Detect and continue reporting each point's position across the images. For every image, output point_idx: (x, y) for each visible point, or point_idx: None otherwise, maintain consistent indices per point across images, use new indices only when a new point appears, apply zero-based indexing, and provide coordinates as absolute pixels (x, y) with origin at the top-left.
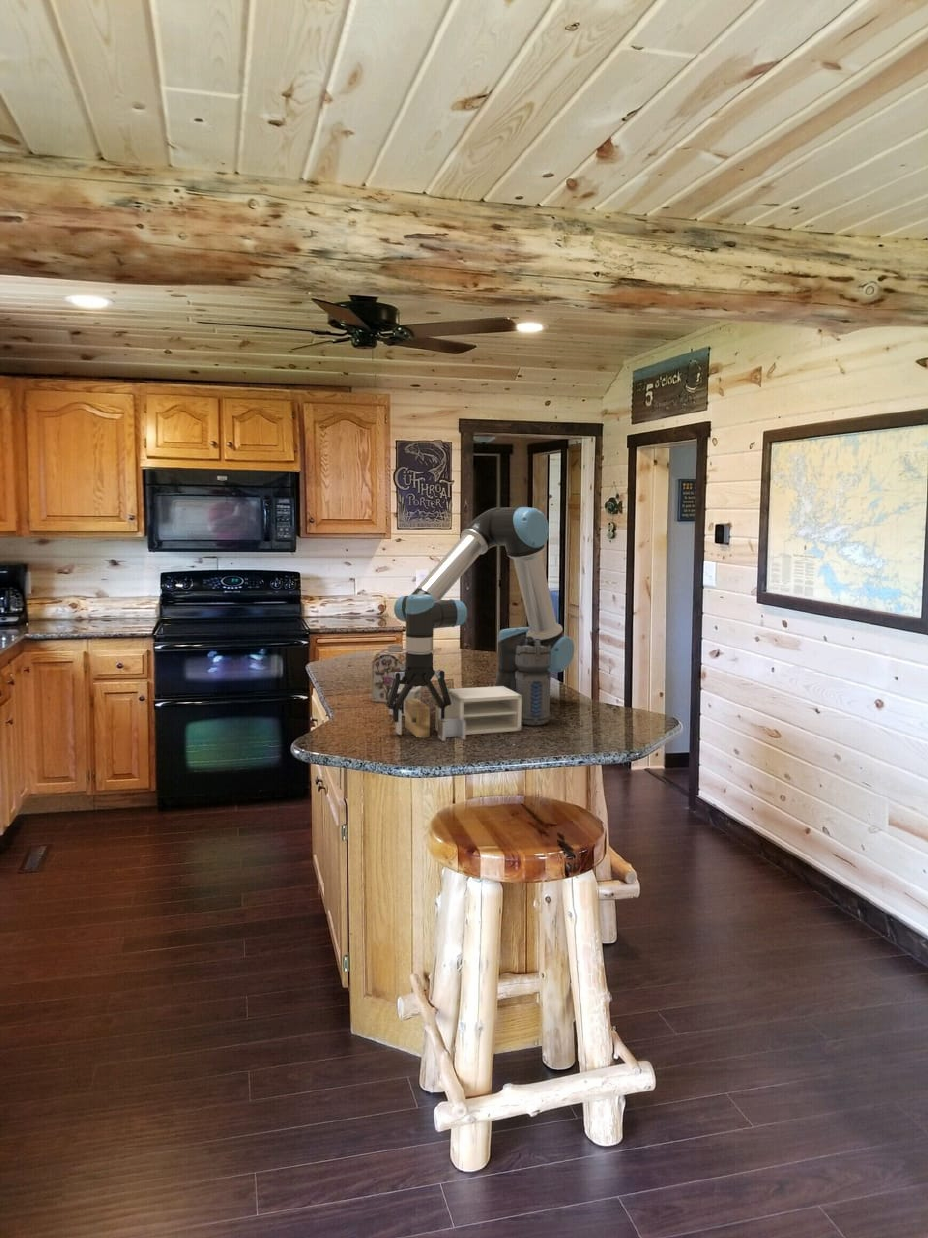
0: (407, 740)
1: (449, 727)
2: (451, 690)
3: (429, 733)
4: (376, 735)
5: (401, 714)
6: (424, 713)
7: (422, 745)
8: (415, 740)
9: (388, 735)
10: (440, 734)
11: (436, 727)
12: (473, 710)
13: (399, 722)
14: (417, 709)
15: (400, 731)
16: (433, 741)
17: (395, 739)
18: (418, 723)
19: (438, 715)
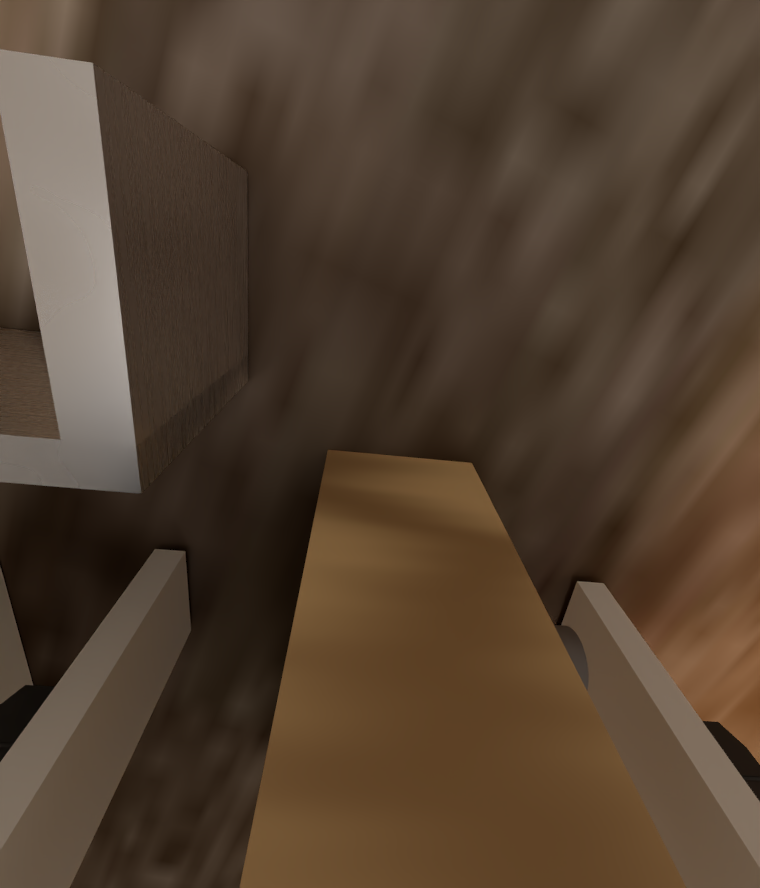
0: (628, 392)
1: (7, 369)
2: None
3: (326, 465)
4: (752, 647)
5: (741, 827)
6: (418, 711)
7: (613, 47)
8: (550, 357)
9: (667, 618)
10: (227, 276)
11: (174, 627)
12: None
13: (680, 699)
14: (668, 861)
15: (604, 607)
16: (370, 214)
17: (708, 475)
18: (500, 564)
19: (70, 734)
